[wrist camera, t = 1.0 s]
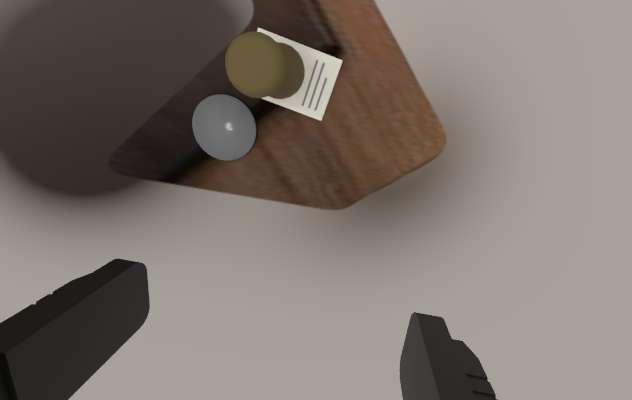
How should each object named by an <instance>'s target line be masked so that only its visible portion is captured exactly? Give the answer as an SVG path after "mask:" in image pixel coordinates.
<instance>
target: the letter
mask: <svg viewBox="0 0 632 400" xmlns="http://www.w3.org/2000/svg"><path fill="white" fill-rule="evenodd" d="M257 32H262V33H264V34H266V35H268V36H270V37H271V38H273V39H274V40H275V41H276V42H280V43H285V44H288V45H290V46H292V47H293V48H294V49H295V50H296V51H297V52H298V53H299V55H300V56H301V58H302V60H303V64H304V68H305V74H304V80H303V83H302V86H301V87H300V89H299V90H298V91H297V93H295V94H294V95H292V96H291V97H288V98H285V99H274V98H272V97H269V96H267V97H263V98H262V99H265V100H267V101H270V102H272V103H275V104H278V105H280V106H283V107H286V108H288V109H291V110H293V111H296V112H299V113H301V114H304V115H307V116H309V117H312V118H315V119H317V120H320V121H322V118H323V115H324V112H325V109H326V107H327V104H328V101H329V98H330V95H331V93H332V90H333V87H334V84H335V81H336V78H337V76H338V73H339V70H340V67H341V64H342V62H343V60H340V59H338V58H335V57H332V56H330V55H327V54H325V53H322V52H320V51H317V50H315V49H312V48H309V47H307V46H304V45H302V44H299V43H297V42H294V41H291V40H289V39H286V38H284V37H281V36H279V35H276V34H274V33H271V32H268V31H266V30H263V29H261V28H258V30H257Z"/></svg>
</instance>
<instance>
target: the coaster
mask: <svg viewBox="0 0 632 400" xmlns="http://www.w3.org/2000/svg"><path fill="white" fill-rule="evenodd" d="M192 127H193V132H194V136H195V138H196V140H197V142H198V144H199V145H200V146H201V148H202V149H203V150H204V151H205V152H206V153H208V154H209V155H211V156H212V157H214V158H217V159H220V160H226V161H230V160H236V159H238V158H241V157H242V156H244V155H245V154H247V153H248V152H249V151H250V150H251V148H252V147H253V145H254V143H255V140H256V136H257V126H256V121H255V118H254V116H253V114H252V112H251V110H250V109H249V108H248V107H247V105H246V104H245V103H243V102H242V101H241V100H239V99H238V98H236V97H233V96H230V95H225V94H218V95H212V96H209V97H207V98H206V99H204V100H203V101H202V102H200V104H199V105H198V106H197V108H196V109H195V112H194V115H193V120H192Z"/></svg>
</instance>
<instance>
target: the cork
mask: <svg viewBox="0 0 632 400" xmlns="http://www.w3.org/2000/svg"><path fill="white" fill-rule="evenodd" d="M225 67H226V71H227V75H228V78H229V79H230V81H231V82H232V84H233V85H234V87H235V88H236V89H238V90H239V91H240V92H241V93H242V94H244V95H247V96H249V97H252V98H263V97H267V96H269V97H272V98H274V99H285V98H288V97H291V96H292V95H294V94H295V93H297V91H298V90H299V89H300V87H301V86H302V83H303V80H304V74H305V68H304V64H303V60H302V58H301V56H300V55H299V53H298V52H297V51H296V50H295V49H294V48H293V47H292V46H290V45H288V44H285V43H280V42H276V41H275V40H274V39H273V38H271V37H270V36H268V35H266V34H264V33H262V32H252V31H250V32H247V33H244V34H241V35H239V36H238V37H237V38H235V39H234V40H233V41H232V43H231V44H230V46H229V47H228V49H227V53H226V57H225Z"/></svg>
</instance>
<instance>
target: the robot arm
mask: <svg viewBox="0 0 632 400" xmlns="http://www.w3.org/2000/svg"><path fill="white" fill-rule="evenodd" d="M149 307H150V306H149V292H148V280H147V269H146V267H145V265H144V264H143V263H139V262H134V261H128V260H123V259H115V260H112V261H111V262H109V263H107V264H106V265H104V266H102V267H101V268H100V269H98V270H96V271H94V272H93V273H90V274H88V275H86V276H82V277H80V278H77V279H75V280H72V281H70V282H69V283H67V284H65V285H64V286H62V287H60V288H59V289H57V290H55V291H54V292H53V294H52V295H51V294H49V295H47V296H45V297H43V298H42V299H40V300H38V301H37V302H36V304H35V305H33V304H32V305H30V306H28V307H27V308H25V309H23V310H22V311H20V312H18V313H17V314H15V315H14V316H12V317H10V318H8V319H7V320H5V321H3V322H2V323H0V400H68V399H69V398H70V397H71V396H72V395H73V394H74V393H75V392H76V391H77V390H78V389H79V388H80V387H81V386H82V385H83V384H84V383H85V382H86V381H87V380H88V379H89V378H90V377H91V376H92V375H93V374H94V373H95V372H96V371H97V370H98V369H99V368H100V367H101V366H102V365H103V364H104V363H105V362H106V361H107V360H108V359H109V358H110V357H111V356H112V355H113V354H114V353H115V352H116V351H117V350H118V349H119V348H120V347H121V346H122V345H123V344H124V343H125V342H126V341H127V340H128V339H129V338H130V337H131V336H132V335H133V334H134V333H135V332H136V331H137V330H138V329H139V328H140V327H141V326H142V325H143V323H144V322H145V320H146V318H147V316H148V313H149ZM400 382H401V389H402V396H403V400H497V399H496V398H495V393H494V391H493V389H492V386H491V384H490V382H488V381H487V376H486V374H485V372H484V370H483V368H482V365H481V363H480V361H479V359H478V358H477V357H476V356H475V354H474V353H473V352H472V351H471V350H470V349H469V348H468V347H467V346H466V344H465V343H464V342H463V341H459V340H453V339H451V336H450V334H449V332H448V329H447V326H446V324H445V321H444V319H443V318H442V317H437V316H432V315H426V314H421V313H415V312H414V313H413V314H412V315H411V318H410V322H409V326H408V330H407V334H406V338H405V342H404V346H403V350H402V355H401V361H400Z"/></svg>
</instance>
